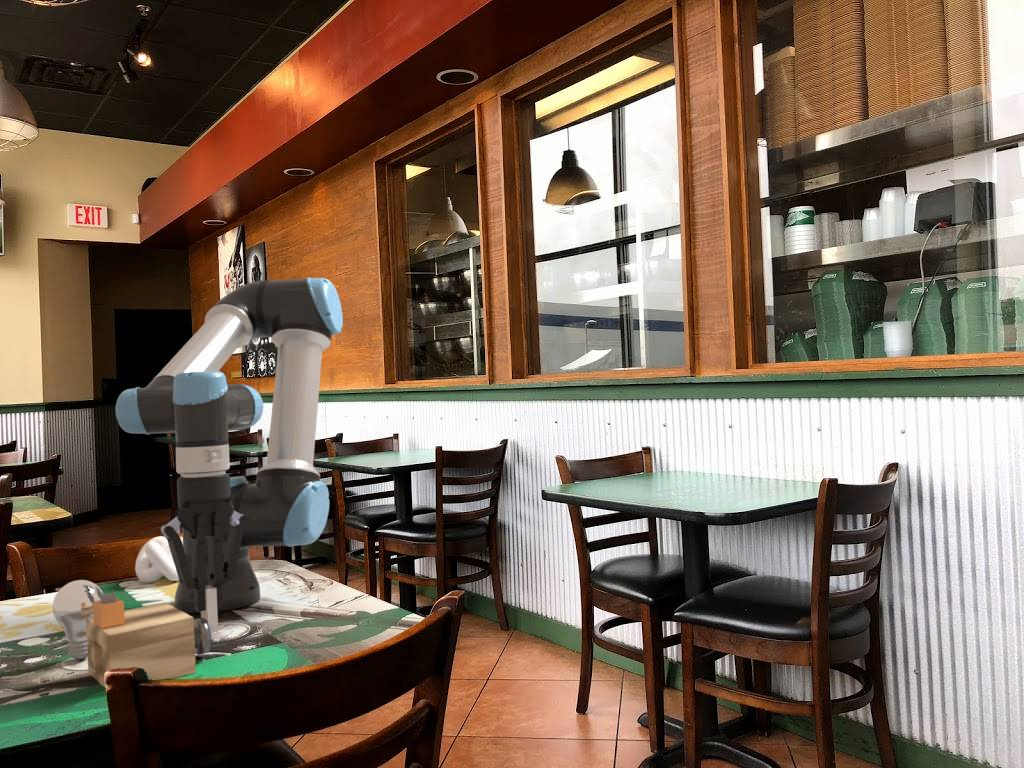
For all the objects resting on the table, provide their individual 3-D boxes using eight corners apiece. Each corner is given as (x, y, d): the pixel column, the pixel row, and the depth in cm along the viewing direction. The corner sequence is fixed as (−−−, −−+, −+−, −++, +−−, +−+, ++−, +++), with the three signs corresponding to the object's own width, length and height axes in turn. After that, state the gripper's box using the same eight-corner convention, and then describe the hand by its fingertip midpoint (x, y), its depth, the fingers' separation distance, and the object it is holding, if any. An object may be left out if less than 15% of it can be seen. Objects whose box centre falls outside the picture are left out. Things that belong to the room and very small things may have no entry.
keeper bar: (93, 623, 113) (92, 594, 113) (116, 618, 115) (115, 590, 115) (101, 628, 110) (100, 599, 110) (124, 623, 112) (123, 595, 112)
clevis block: (88, 672, 116) (86, 618, 116) (167, 653, 124) (165, 602, 124) (111, 694, 107) (109, 635, 107) (195, 672, 114) (193, 617, 114)
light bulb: (67, 654, 125) (64, 576, 125) (114, 650, 126) (111, 573, 126) (45, 669, 118) (42, 587, 118) (95, 666, 119) (92, 584, 119)
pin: (105, 671, 115) (103, 634, 115) (199, 648, 123) (197, 614, 123) (115, 680, 111) (114, 642, 111) (212, 656, 119) (210, 621, 119)
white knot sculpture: (120, 587, 169) (119, 544, 169) (155, 573, 181) (153, 533, 181) (170, 587, 167) (168, 543, 167) (202, 573, 179) (200, 533, 179)
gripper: (167, 480, 115) (174, 646, 115) (255, 470, 123) (261, 625, 123) (150, 477, 120) (156, 635, 120) (235, 468, 129) (241, 616, 129)
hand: (209, 630), depth 122 cm, fingers closed
